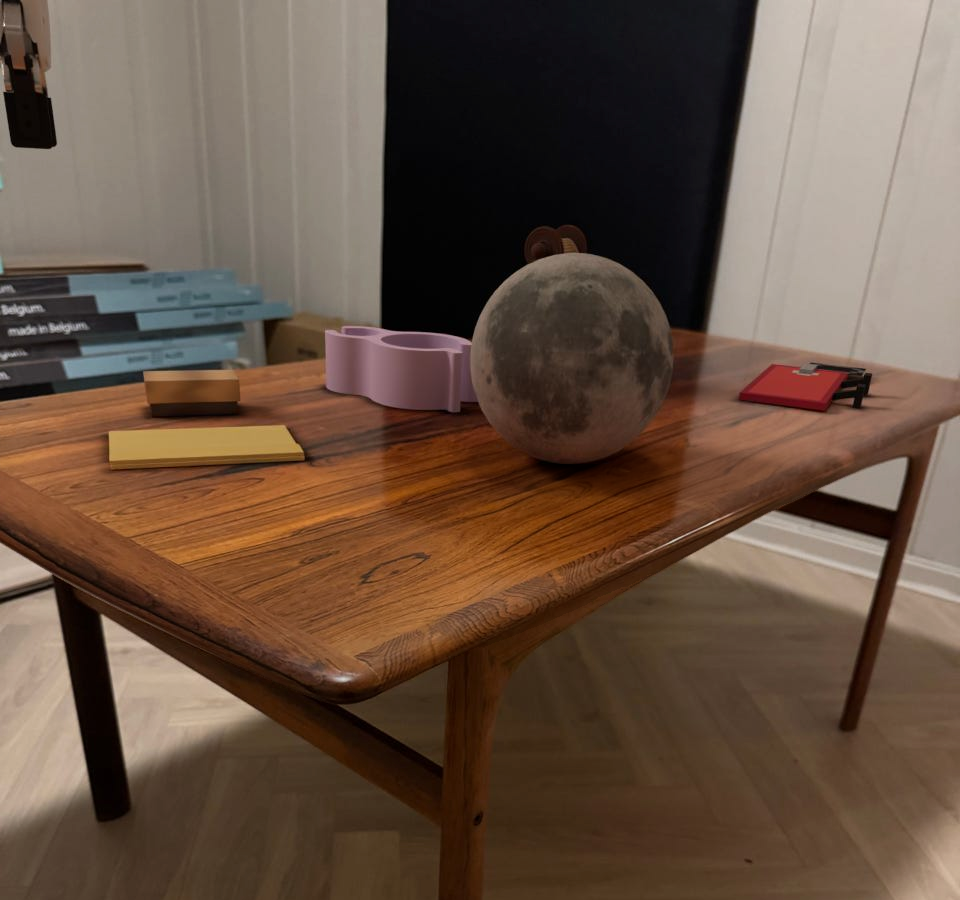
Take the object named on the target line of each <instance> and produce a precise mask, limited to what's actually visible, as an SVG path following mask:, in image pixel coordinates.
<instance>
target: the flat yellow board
mask: <svg viewBox="0 0 960 900" xmlns="http://www.w3.org/2000/svg"><path fill="white" fill-rule="evenodd" d="M108 449H109V451H108V454H109V456H108V457H109V468H110V470H113V471H114V470H133V469H152V468H173V467H175V468H176V467H194V466H195V467H196V466H214V465H216V466H217V465H235V464H237V465H239V464H257V463H259V464H260V463H280V462H296V461H297V462H300V461H301V462H302V461H305V458H306V457H305V451H304V450H303V449H302V447H301V445H300V444H299V443H296V440H295V439H294V437H293V436H292V434H291V432H290V431H289V430H288V428H287V426H286V425H285V424H278V425H277V424H276V425H249V426H247V425H246V426H221V427H194V428H193V427H191V428H188V427H187V428H165V429H164V428H162V429H136V430H135V429H134V430H109V431H108Z"/></svg>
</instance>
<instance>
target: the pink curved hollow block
mask: <svg viewBox="0 0 960 900" xmlns="http://www.w3.org/2000/svg"><path fill="white" fill-rule="evenodd" d="M324 336H325V337H324V338H325V339H324V340H325V341H324V342H325V343H324V344H325V345H324V347H325V348H324V349H325V387H326V389H327V390H329V391H331V392H334V393H339V394H345V395H356V396H361V397H366V398H368V399H371V401H372V402H375V403H377V404H380V405H382V406H387V407H391V408H397V409H404V410H415V411H439V410H442V411H443V410H444V411H448V412H450V413H460V412H461V402H465V403H478V400H477V398H476V395H475V391H474V388H473V384H472V377H471V371H470V354H471V345H472V341H470V340H468V339H466V338H464V337H460V336H455V335H451V334H446V333H439V332H438V333H436V332H425V331H423V332H422V331H396V330H389V329H384V328H381V327H373V326H361V325H344V326H341V333H340V332H337V330H336V329H325V330H324Z"/></svg>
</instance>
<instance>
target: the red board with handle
mask: <svg viewBox="0 0 960 900" xmlns="http://www.w3.org/2000/svg"><path fill="white" fill-rule="evenodd" d="M866 371H867V368H864V367H854V366H848V365H847V366H846V365H838V364H837V365H836V364H829V363H828V364H827V363H819V362H810V363H803V365H802V366H793V365H784V364H776V363H771V364H770V365H769V366H768V367H767V368H766V369H764V370H763V371H762V372H761V373H760V374H759V375H758V376H756V377H755V378H754V379H753V380H752V381H751V382H749V384H747V385H746V386H745V387H743V389H741V390H740V391H739V394H738V400H740V401H749V402H757V403H763V404H772V405H780V406H787V407H795V408H803V409H809V410H810V409H811V410H819V411H823V412H824V411H826V410H827V408H829V407H828V406H830V404H831V403H832V401H839V400H847V399H853V401H852V407H851V408H853V409H860V408H861V407H862V404H863V400H864V397H868V395H869V391H870V388H871V382H872V377H873V373H871V372H866ZM849 376H855V377H860V378H854V379H848V377H849ZM850 388H855V389H850ZM842 389H848V390H842Z"/></svg>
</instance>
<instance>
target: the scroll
mask: <svg viewBox="0 0 960 900" xmlns="http://www.w3.org/2000/svg"><path fill="white" fill-rule="evenodd" d="M587 245H588V243H587V240H586V236H585V234H584V232H583V231H582V230H580V228H579V227H577V226H575V225H571V224H564V225H561V226H559V227H558V228H556V229H554V228H553V227H550V226H544V225H543V226H539V227H536V228H535V229H533V230H532V231H531V232H530V233H529V234H528V236H527V238H526V240H525V243H524V257H525V258H524V259H525V260H526V263H527V265H528V264H530V263H533V262H535V261H537V260H539V259H542V258H546V257H549V256H553V255H558V254H566V253H584V254H587V252H588V251H587V250H588V246H587Z"/></svg>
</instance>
